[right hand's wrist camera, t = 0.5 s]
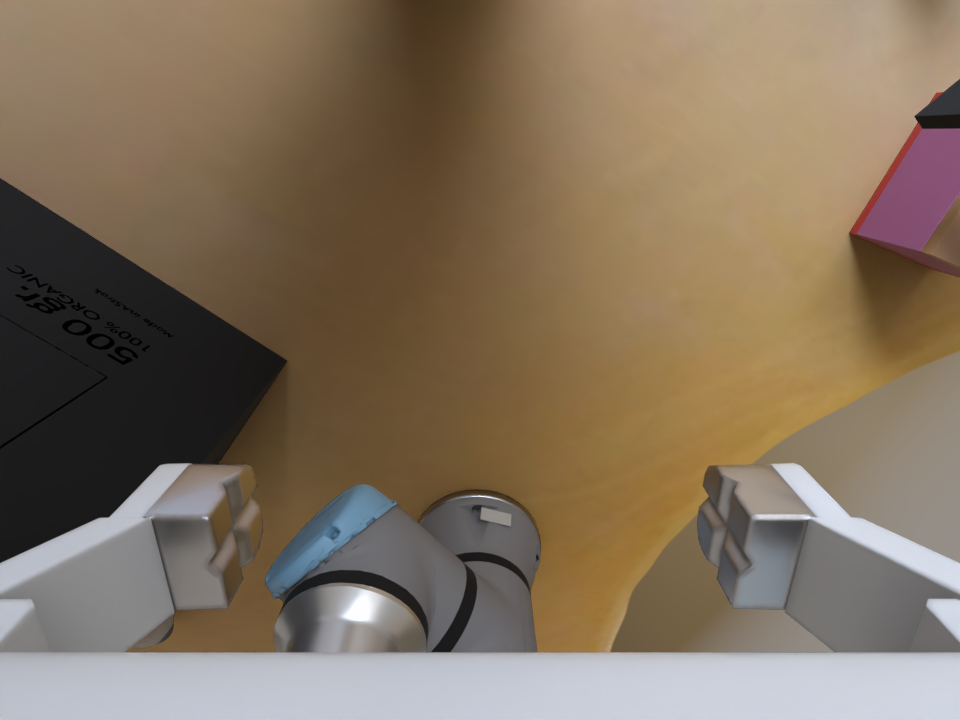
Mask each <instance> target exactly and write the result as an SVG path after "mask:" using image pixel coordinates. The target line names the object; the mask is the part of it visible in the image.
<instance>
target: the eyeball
mask: <svg viewBox="0 0 960 720" xmlns="http://www.w3.org/2000/svg"><path fill="white" fill-rule="evenodd" d="M173 625H174V614H173V615H171V616H170V617H169V618H168V619H166V620H165V621H164V622H163V623H161V624H160V625H159V626H158V627H156V628H155V629H154V630H152V631H151V632H150V633H149V634H147V635H146V636H145V637H144V638H142V639H141V640H140V641H139V642H137V643H136V644H135V645H134V646H132V647H134V648H147V647H150V646H153V645H155V644H157V643H160V642H163V641H164V640H166V639H167V638H168V637H169V636H170V634H171V633H172V631H173Z"/></svg>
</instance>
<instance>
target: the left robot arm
mask: <svg viewBox="0 0 960 720" xmlns="http://www.w3.org/2000/svg"><path fill="white" fill-rule="evenodd" d="M915 118H916V120H917V121H918V123H919V124H920V126H921V128H922V129H960V79H959V80H958V81H957V82H956V83H954V84H953V85H952V86H951V87H949V88H948V89H947V90H946V91H945V92H943V93H942V94H941V95H940V96H939V97H937V98H936V99H935V100H934V101H933V102H931V103H930V104H929V105H928V106H926V107H925V108H924V109H923V110H922V111H920V112H919V113H918V114H917V115H916V116H915ZM397 504H398V503H397V502H396V501H394V500H390V499H389V498H387V497H386V496H385V495H383V494H382V493H381V492H380V491H378V490H377V489H376V488H374V487H373V486H370V485H366V484H361V485H357V486H353V487H351V488H349V489H347V490H346V491H344V492H343V493H341V494H340V495H338V496H337V497H336V498H335V499H333V500H332V501H331V502H330V503H329V504H327V505H326V506H325V507H324V508H323V509H322V510H321V511H320V512H319V513H318V514H317V515H316V516H314V517H313V518H312V519H311V520H310V521H309V522H308V523H307V524H306V525H305V526H304V528H303V529H302V530H301V531H300V532H299V533H298V534H297V535H296V536H295V537H294V538H293V540H292V541H291V542H290V543H289V544H288V545H287V547H286V548H285V549H284V550H283V551H282V553H281V554H280V555H279V557H278V558H277V559H276V561H275V562H274V564H273V565H272V567H271V568H270V570H269V572H268V574H267V576H266V579H265V585H266V587H267V588H268V590H269V591H270V592H271V593H272V597H274V598H275V599H277V598H279V599H281V600H282V601H283V602H284V604H283V607H282V609H281V611H280V614H279V616H278V619H277V622H276V624H275V628H274V645H275V649H276V652H537V646H536V637H535V629H534V620H533V611H532V602H531V594H530V590H531V587H532V584H533V581H534V578H535V573H536V571H537V568H538V565H539V562H540V553H541V543H540V536H539V531H538V527H537V525H536V522H535V520H534V519H533V517H532V516H531V514H530V513H529V512H528V511H527V510H526V509H525V508H524V507H523V506H522V505H521V504H520V503H518V502H517V501H515V500H514V499H512V498H510V497H508V496H506V495H503V494H500V493H497V492H493V491H488V490H465V491H460V492H456V493H453V494H450V495H447V496H445V497H443V498H441V499H440V500H438V501H436V502H435V503H434V504H432V505H431V506H430V507H429V508H428V509H427V510H426V511H425V512H424V513H423V515H422V516H421V518H420V519H419V521H418V522H417V521H415V520H414V519H413V518H412V517H411V516H410V515H409V514H408V513H406V512H405V511H404V510H403V509H402V508H401V507H400V506H399V505H397Z"/></svg>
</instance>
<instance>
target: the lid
mask: <svg viewBox="0 0 960 720" xmlns="http://www.w3.org/2000/svg"><path fill="white" fill-rule="evenodd" d="M921 253H924V254H926V255H928V256H930V257H933V258H935V259H937V260H940V261H942V262H944V263H946V264H949V265H951V266H953V267H956V268H958V269H960V194H959V195H958V197H957V198H956V200H955V201H954V203H953V204H952V206H951V207H950V209H949V210H948V212H947V213H946V215H945V216H944V218H943V219H942V221H941V222H940V224H939V225H938V227H937V228H936V229H935V231H934V232H933V234H932V235H931V237H930V238H929V240H928V241H927V243H926V244H925V246H924V247H923V249H922V250H921Z"/></svg>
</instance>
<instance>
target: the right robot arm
mask: <svg viewBox="0 0 960 720" xmlns="http://www.w3.org/2000/svg"><path fill="white" fill-rule="evenodd" d="M256 487H257V482H256V477H255V473H254V469H253V468H252V467H251V466H250V465H236V464H191V463H178V464H163V465H160V466H159V467H158V468H157V469H156V470H155V471H154V472H153V473H152V474H151V475H150V476H149V477H148V478H147V479H146V480H145V481H144V482H143V483H142V484H141V485H140V486H139V487H138V488H137V489H136V490H135V491H134V492H133V493H132V494H131V495H130V496H129V497H128V498H127V499H126V501H125V502H124V503H123V504H122V505H121V506H120V507H119V508H118V509H117V510H116V511H115V512H114V513H113V514H112V515H111V516H110V517H109V518H98V519H96V520H93V521H91V522H89V523H87V524H85V525H82V526H80V527H78V528H76V529H74V530H72V531H69V532H67V533H65V534H63V535H61V536H58V537H56V538H54V539H52V540H50V541H47V542H45V543H43V544H41V545H39V546H37V547H34V548H32V549H30V550H28V551H26V552H23V553H21V554H19V555H17V556H15V557H12V558H10V559H8V560H6V561H4V562H2V563H0V720H960V563H958V562H956V561H954V560H952V559H949V558H947V557H945V556H943V555H941V554H939V553H936V552H934V551H932V550H930V549H928V548H925V547H923V546H921V545H919V544H917V543H915V542H912V541H910V540H908V539H906V538H904V537H902V536H899V535H897V534H895V533H893V532H891V531H888V530H886V529H884V528H882V527H880V526H877V525H875V524H873V523H871V522H869V521H866V520H864V519H862V518H851V517H850V516H849V515H848V514H847V513H846V512H845V511H844V510H843V509H842V508H841V507H840V506H839V505H838V504H837V503H836V501H834V499H833V498H832V497H831V496H830V495H829V494H828V493H827V492H826V491H825V490H824V489H823V488H822V487H821V486H820V485H819V484H818V483H817V482H816V481H815V480H814V479H813V478H812V477H811V476H810V475H809V474H808V473H807V472H806V471H805V470H804V468H803V467H802V466H800V465H797V464H795V463H782V464H756V465H716V466H708V468H707V471H706V473H705V476H704V482H703V487H704V489H705V490H706V492H707V494H708V495H709V497H708V498H707V499H706V500H705V501H704V502H703V503H702V504H701V505H700V506H699V511H698V519H697V529H698V539H699V542H700V546H701V549H702V551H703V553H704V555H705V557H706V559H707V560H708V561H709V562H711V563H712V564H714V565H715V566H717V567H718V568H719V570H718V576H717V580H718V582H719V584H720V585H721V587H722V589H723V591H724V593H725V595H726V597H727V598H728V600H729V602H730V604H731V606H732V608H733V609H768V610H785V613H786V614H788V615H789V616H790V617H791V618H793V619H794V620H795V621H796V622H798V623H799V624H800V625H801V626H803V627H804V628H805V629H806V630H808V631H809V632H810V633H812V634H813V635H814V636H815V637H817V638H818V639H819V640H820V641H822V642H823V643H824V644H825V645H827V646H828V647H829V648H830V649H832V650H833V651H834V652H653V653H651V652H645V653H644V652H623V653H622V652H618V653H617V652H126V651H127V650H129V649H130V648H131V647H132V646H134V645H135V644H136V643H137V642H139V641H140V640H141V639H142V638H144V637H145V636H146V635H147V634H149V633H150V632H151V631H152V630H154V629H155V628H156V627H158V626H159V625H160V624H161V623H163V622H164V621H165V620H166V619H168V618H169V617H170V616H171V615H173V614H174V613H175V610H192V609H227V608H228V606H229V604H230V602H231V600H232V599H233V597H234V595H235V593H236V591H237V589H238V587H239V585H240V584H241V582H242V580H243V576H242V570H241V568H242V567H243V566H245V565H246V564H248V563H249V562H251V561H252V560H253V559H254V557H255V555H256V553H257V551H258V549H259V546H260V541H261V537H262V532H263V517H262V511H261V506H260V505H259V504H258V503H257V502H256V501H255V500H254V499H253V498H252V497H251V495H252V494H253V492H254V490H255V489H256Z"/></svg>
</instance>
